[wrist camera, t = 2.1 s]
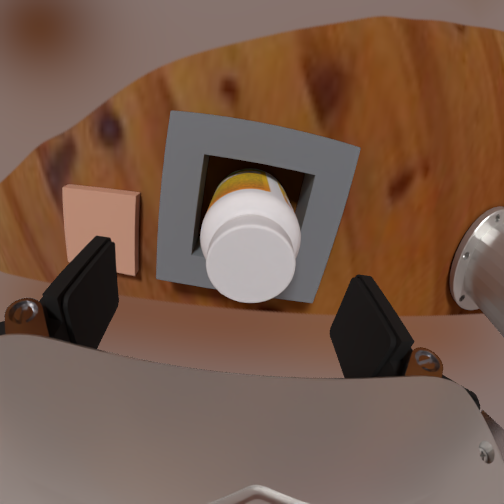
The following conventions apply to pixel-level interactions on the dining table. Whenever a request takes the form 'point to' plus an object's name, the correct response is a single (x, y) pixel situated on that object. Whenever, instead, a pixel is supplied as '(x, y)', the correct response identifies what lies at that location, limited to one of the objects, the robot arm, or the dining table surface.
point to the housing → (259, 151)
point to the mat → (103, 222)
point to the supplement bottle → (250, 237)
